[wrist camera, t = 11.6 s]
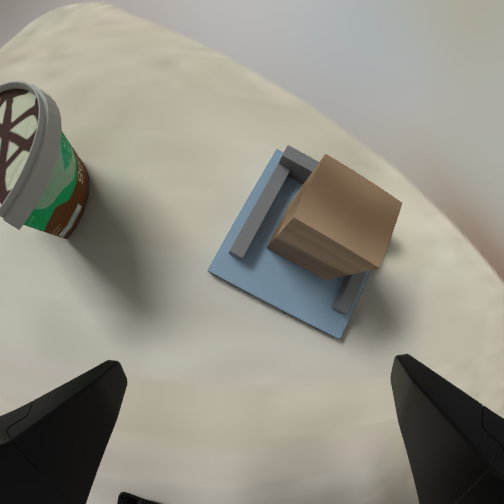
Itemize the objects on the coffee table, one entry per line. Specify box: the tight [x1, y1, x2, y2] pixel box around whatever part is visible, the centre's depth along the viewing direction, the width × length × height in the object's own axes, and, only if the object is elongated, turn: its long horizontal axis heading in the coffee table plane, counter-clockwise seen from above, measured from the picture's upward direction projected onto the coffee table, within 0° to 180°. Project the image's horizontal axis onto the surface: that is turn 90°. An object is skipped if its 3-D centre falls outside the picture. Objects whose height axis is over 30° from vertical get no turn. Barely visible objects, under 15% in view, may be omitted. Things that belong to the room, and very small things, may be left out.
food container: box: [0, 81, 89, 239], centre depth 17 cm, size 12×6×10 cm, turn 44°
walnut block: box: [266, 154, 402, 280], centre depth 18 cm, size 4×5×8 cm
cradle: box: [208, 145, 370, 339], centre depth 21 cm, size 11×11×3 cm
